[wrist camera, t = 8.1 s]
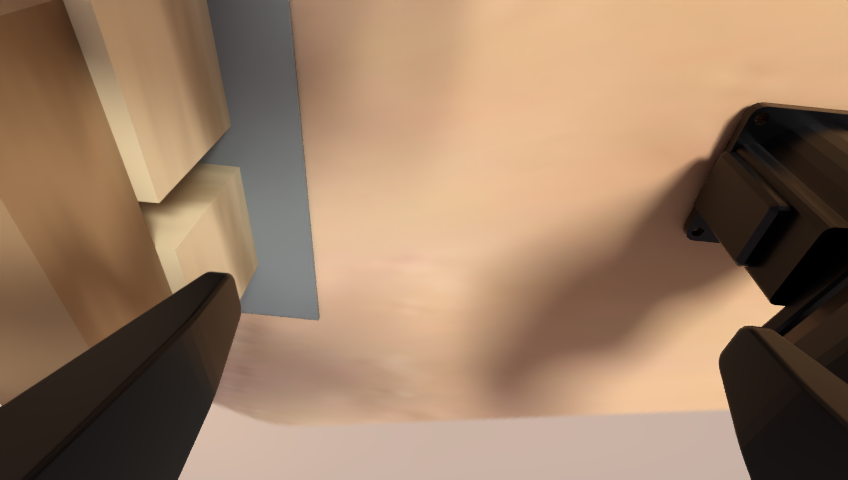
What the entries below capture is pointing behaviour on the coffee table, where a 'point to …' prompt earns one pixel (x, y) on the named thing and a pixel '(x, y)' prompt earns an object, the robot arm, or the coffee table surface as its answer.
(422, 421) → the coffee table surface
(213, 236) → the beech cube
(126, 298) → the walnut lintel
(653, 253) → the coffee table surface
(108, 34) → the beech cube
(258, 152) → the build mat
